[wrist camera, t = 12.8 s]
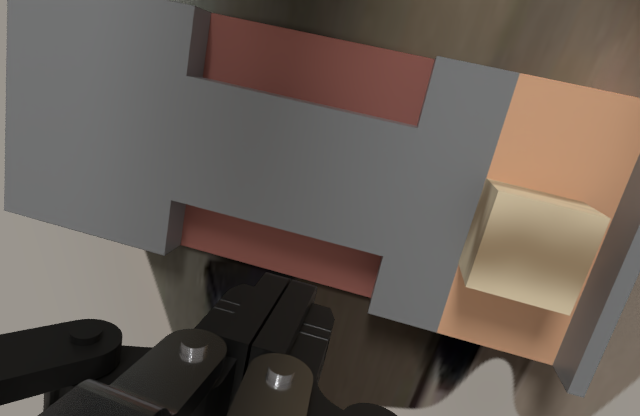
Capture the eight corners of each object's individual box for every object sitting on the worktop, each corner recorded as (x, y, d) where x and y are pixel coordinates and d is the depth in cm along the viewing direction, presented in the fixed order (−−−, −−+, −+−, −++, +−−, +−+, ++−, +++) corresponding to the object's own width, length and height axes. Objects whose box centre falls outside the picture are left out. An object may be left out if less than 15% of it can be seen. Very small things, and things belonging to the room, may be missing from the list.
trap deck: (41, -23, 34) (-33, -46, 28) (651, 104, 29) (712, 107, 23) (33, 201, 39) (-31, 220, 33) (553, 346, 34) (583, 397, 28)
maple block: (486, 178, 29) (498, 190, 25) (583, 201, 28) (610, 218, 24) (458, 262, 30) (465, 287, 27) (548, 287, 30) (569, 315, 26)
